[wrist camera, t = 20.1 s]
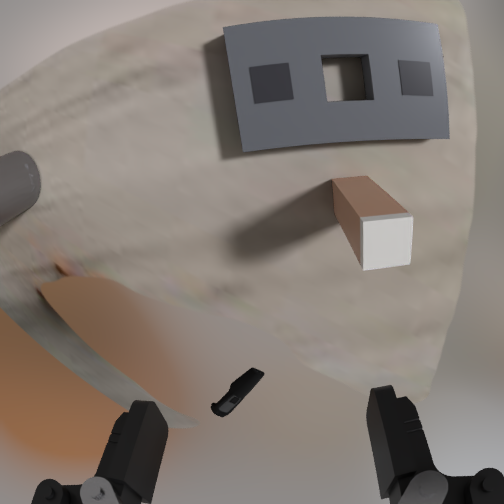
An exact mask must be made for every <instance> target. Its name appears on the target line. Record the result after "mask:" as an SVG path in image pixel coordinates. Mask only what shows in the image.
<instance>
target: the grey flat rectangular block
mask: <svg viewBox="0 0 504 504" xmlns="http://www.w3.org/2000/svg"><path fill="white" fill-rule="evenodd" d="M223 31H224V37H225V43H226V49H227V56H228V62H229V68H230V74H231V80H232V86H233V92H234V99H235V105H236V111H237V117H238V124H239V130H240V136H241V142H242V149H243V152H249V151H256V150H264V149H272V148H281V147H290V146H299V145H310V144H321V143H334V142H348V141H365V140H388V139H450V138H449V113H448V99H447V87H446V77H445V69H444V61H443V54H442V47H441V41H440V35H439V30H438V25H437V24H433V23H426V22H418V21H410V20H400V19H389V18H372V17H310V18H293V19H281V20H271V21H262V22H255V23H247V24H241V25H234V26H228V27H223ZM345 57H361V61H362V68H363V76H364V84H365V92H366V100H351V101H331V102H327V97H326V89H325V82H324V75H323V68H322V61H321V58H345Z"/></svg>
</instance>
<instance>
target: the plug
mask: <svg viewBox="0 0 504 504" xmlns="http://www.w3.org/2000/svg"><path fill="white" fill-rule="evenodd" d="M332 188H333V202H334V214H335V216H336V218H337V220H338V222H339V224H340V225H341V227H342V229H343V231H344V233H345V235H346V237H347V239H348V241H349V243H350V245H351V247H352V249H353V251H354V253H355V255H356V257H357V259H358V261H359V263H360V265H361V267H362V269H363V271H364V270H372V269H379V268H387V267H394V266H401V265H409V264H410V260H411V247H412V231H413V216H412V215H411V214H410V213H409V212H408V211H407V210H405V209H404V208H403V207H402V206H401V205H400V204H399V203H398V202H397V201H396V200H394V199H393V198H392V197H391V196H390V195H389V194H388V193H387V192H385V191H384V190H383V189H382V188H381V187H380V186H378V185H377V184H376V183H375V182H374V181H373V180H371V179H370V178H369V177H368V176H358V177H347V178H336V179H332Z"/></svg>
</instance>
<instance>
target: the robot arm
mask: <svg viewBox="0 0 504 504" xmlns="http://www.w3.org/2000/svg"><path fill="white" fill-rule="evenodd" d="M40 186H41V185H40V175H39V171H38V168H37V166H36V164H35V162H34V161H33V159H32V158H31V157H30V156H29V155H28V154H26V153H24V152H22V151H14V152H11V153H8V154H6V155H3V156H0V226H1V225H3V224H4V223H6V222H7V221H9V220H11V219H12V218H14V217H15V216H17V215H19V214H20V213H22V212H23V211H25V210H27V209H28V208H30V207H31V206H33V205H34V204H35V202H36V201H37V199H38V197H39V193H40ZM366 418H367V427H368V431H369V436H370V441H371V446H372V451H373V456H374V462H375V467H376V472H377V478H378V484H379V489H380V496H381V499H384V498H389V499H390V504H504V476H503V474H502V473H501V472H500V471H498V470H497V469H494V468H485V469H483V470H481V471H479V472H478V473H477V474H476V475H475V476H456V477H452V476H447V475H444V474H442V473H441V472H439V471H438V470H437V468H436V467H435V465H434V463H433V460H432V457H431V453H430V450H429V447H428V444H427V440H426V437H425V434H424V431H423V430H422V425H421V422H420V420H419V416H418V413H417V410H416V407H415V405H414V404H413V403H412V402H411V401H410V400H409V399H408V398H407V397H406V396H405V397H401V398H396V395H395V391H394V389H393V387H392V385H388V386H382V387H377V388H372V389H371V391H370V396H369V402H368V407H367V414H366ZM111 433H112V434H111V435H110V437H109V440H108V443H107V445H106V448H105V450H104V453H103V456H102V458H101V461H100V464H99V466H98V469H97V472H96V474H95V476H94V477H92V478H89V479H88V480H86V481H85V482H84V483H83V484H81V485H61V484H60V483H58V482H57V481H55V480H53V479H46V480H44V481H42V482H41V483H40V484H39V485H38V486H37V489H36V492H35V494H34V497H33V500H32V503H31V504H141V502H143V503H148V504H151V501H152V497H153V493H154V489H155V485H156V481H157V477H158V472H159V469H160V465H161V461H162V456H163V452H164V449H165V445H166V441H167V438H168V425H167V422H166V420H165V419H164V417H163V415H162V414H161V412H160V410H159V409H158V407H157V405H156V404H155V402H153V401H140V400H135V401H134V402H133V403H132V405H131V408H130V411H129V413H128V412H124V413H123V414H122V415H121V416H120V417H119V418H118V419H117V420H116V422H115V424H114V427H113V429H112V432H111Z"/></svg>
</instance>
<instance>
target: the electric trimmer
mask: <svg viewBox="0 0 504 504" xmlns="http://www.w3.org/2000/svg"><path fill="white" fill-rule="evenodd" d="M263 376H264V372H262V371H260V370H257V369H255V368H251V369H249V370H248V371H247V372H246V373H244V374H243V375H242V376H241V377H239V378H238V379H236V380H235V381H234V382H233V383H232V384H231V386H230V389H229V391H228V392H227V393H226V394H225V396H223V397H222V399H221V400H220V401H218V402H217V403H212V404H211V405H212V406H211V410H212V411H213V413H214V414H216V415H217V416H220V417H224V416H226V415H228V414H229V413H231V412H232V410H233V409H234V408H235V407H236V406H237V405H238V404H239V403H240V402H241V401H242V400H243V398H244V397H245V396H246V395H247V394H248V393H249V392H250V391H251V390H252V389H253V388H254V386H255V385H256V384H257V383H258V382H259V381H260V379H261V378H262V377H263Z"/></svg>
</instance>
